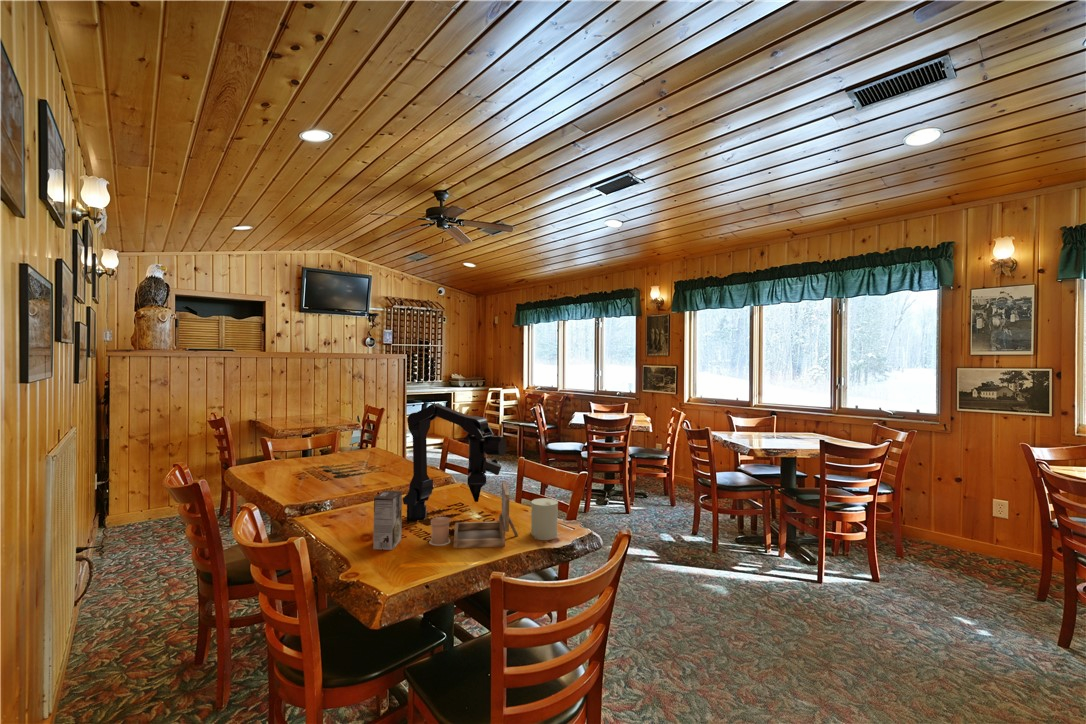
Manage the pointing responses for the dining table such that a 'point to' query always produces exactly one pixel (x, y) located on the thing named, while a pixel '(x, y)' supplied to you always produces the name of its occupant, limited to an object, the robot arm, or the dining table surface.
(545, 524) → the can
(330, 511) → the dining table surface
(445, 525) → the terracotta pot
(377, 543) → the coffee box
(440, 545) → the saucer
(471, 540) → the open wooden box
